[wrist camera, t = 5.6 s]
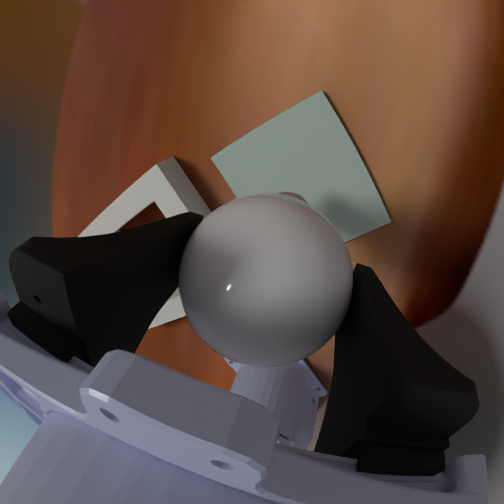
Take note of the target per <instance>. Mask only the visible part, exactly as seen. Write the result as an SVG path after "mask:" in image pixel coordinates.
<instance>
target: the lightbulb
mask: <svg viewBox="0 0 504 504" xmlns="http://www.w3.org/2000/svg"><path fill="white" fill-rule="evenodd" d="M352 291H353V269H352V263H351V258H350V255H349V252H348V249H347V247H346V244H345V242H344V240H343V238H342V236H341V235H340V233H339V232H338V230H337V229H336V227H335V226H334V225H333V224H332V223H331V221H330V220H329V219H328V218H327V217H326V216H325V215H323V214H322V213H321V212H320V211H318V210H317V209H316V208H314V207H313V206H311V205H309V204H308V202H307V201H306V200H305V199H304V198H303V197H302V196H301V195H299V194H297V193H294V192H288V191H286V192H280V193H277V194H275V193H258V194H251V195H246V196H242V197H239V198H236V199H233V200H231V201H229V202H227V203H225V204H223V205H221V206H220V207H218V208H217V209H215V210H214V211H212V212H211V213H210V214H209V215H208V216H207V217H206V218H204V219H203V220H202V222H201V223H200V224H199V225H198V226H197V228H196V229H195V230H194V232H193V233H192V235H191V236H190V238H189V240H188V242H187V244H186V246H185V249H184V251H183V254H182V258H181V262H180V267H179V293H180V299H181V303H182V307H183V310H184V312H185V315H186V317H187V319H188V321H189V323H190V325H191V326H192V328H193V329H194V331H195V332H196V333H197V335H198V336H199V337H200V338H201V339H202V341H203V342H204V343H205V344H207V345H208V346H209V347H210V348H211V349H212V350H214V351H215V352H217V353H218V354H220V355H221V356H223V357H225V358H227V359H229V360H231V361H234V362H236V363H239V364H243V365H247V366H252V367H262V368H270V367H280V366H285V365H289V364H292V363H295V362H298V361H300V360H303V359H305V358H307V357H308V356H310V355H312V354H313V353H315V352H316V351H318V350H319V349H320V348H322V347H323V346H324V345H325V344H326V343H327V342H328V341H329V340H330V339H331V338H332V337H333V336H334V334H335V333H336V332H337V330H338V329H339V327H340V326H341V324H342V322H343V320H344V318H345V316H346V314H347V311H348V309H349V305H350V302H351V297H352Z"/></svg>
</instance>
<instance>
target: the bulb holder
mask: <svg viewBox="0 0 504 504" xmlns="http://www.w3.org/2000/svg"><path fill="white" fill-rule="evenodd" d="M153 202H155V203H156V204H157V206H158V207H159V209H160V210H161V212H162V213H163V214H164V216H165V217H166V218H169V217H172V216H175V215H178V214H181V213H185V212H193V213H197V214H200V215H203V219H204V218H206V217H207V216H208V215H209V214H210V213H211V211H210V209H209V208H208V206H207V205H206V203H205V202H204V200H203V199H202V197H201V196H200V195H199V193H198V192H197V190H196V189H195V187H194V186H193V184H192V183H191V181H190V180H189V178H188V177H187V175H186V174H185V172H184V171H183V169H182V168H181V166H180V165H179V164H178V162H177V161H176V159H175V158H174V156H173V157H171V158H168V159H166V160H164V161H162V162H160V163H158V164H156V165H155V166H154V167H152V168H151V169H150V170H149V171H148V172H146V173H145V174H144V175H143V176H142V177H141V178H139V179H138V180H137V181H136V182H135V183H134V184H133V185H131V186H130V187H129V188H128V189H127V190H126V191H125V192H124V193H122V194H121V195H120V196H119V197H118V198H117V199H116V200H115V201H114V202H113V203H112V204H111V205H109V206H108V207H107V208H106V209H105V210H104V211H103V212H102V213H101V214H100V215H99V216H98V217H97V218H96V219H95V220H94V221H93V222H92V223H91V224H90V225H89V226H88V227H87V228H86V229H85V230H84V231H83V232H82V233H81V234H80V235H79V236H78V237H86V236H94V235H102V234H109V233H114V232H119V231H120V230H119V229H120V228H121V227H123V226H124V225H125V224H126V223H128V222H129V221H130V220H131V219H133V218H134V217H135V216H136V215H138V214H139V213H140V212H141V211H143V210H144V209H145V208H147V207H148V206H149V205H151V204H152V203H153ZM184 316H186V315H185V312H184V310H183V307H182V303H181V299H180V293H179V287H178V288H177V289H176V291H175V292H174V293H173V294H172V296H171V297H170V298H169V299H168V301H167V302H166V303H165V304H164V306H163V307H162V308H161V309H160V311H159V312H158V314H157V315H156V317H155V318H154V320H153V321H152V323H151V325H150V326H149V328H152V327H155V326H158V325H161V324H164V323H167V322H169V321H172V320H175V319H178V318H181V317H184ZM149 328H148V329H149Z"/></svg>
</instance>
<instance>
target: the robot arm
mask: <svg viewBox="0 0 504 504" xmlns="http://www.w3.org/2000/svg"><path fill="white" fill-rule="evenodd" d="M202 220H203V215H200V214H197V213H193V212H185V213H181V214H178V215H175V216H172V217H169V218H165V219H162V220H159V221H156V222H153V223H150V224H146V225H143V226H139V227H136V228H132V229H128V230H124V231H119V232H114V233H109V234H102V235H94V236H86V237H69V238H53V237H32V238H30V239H29V240H27V241H26V242H25V243H23V244H22V245H20V246H19V247H17V248H16V249H15V250H13V251H12V252H11V254H10V258H9V268H10V272H11V276H12V279H13V282H14V285H15V288H16V291H17V293H18V296H19V299H20V302H19V303H17V304H16V305H15V306H14V307H13V308H12V309H11V307H10V304H9V302H8V300H7V298H6V297H5V295H3V293H2V292H0V389H1V390H2V391H3V392H4V393H5V394H6V395H7V396H8V397H9V398H10V399H11V400H12V401H13V402H14V403H15V404H16V405H17V406H18V407H19V408H20V409H21V410H23V411H24V412H25V413H26V414H27V415H28V416H29V417H30V418H31V419H33V420H34V421H35V422H36V423H37V424H38V425H40V427H39V428H38V429H37V431H36V432H35V434H34V435H33V437H32V438H31V439H30V441H29V442H28V444H27V445H26V447H25V448H24V450H23V451H22V453H21V454H20V456H19V457H18V458H17V460H16V462H15V463H14V465H13V466H12V468H11V469H10V471H9V472H8V474H7V475H6V477H5V478H4V480H3V481H2V483H1V485H0V504H488V483H487V470H486V459H485V455H483V454H482V455H463V456H459V457H457V458H455V459H453V460H451V461H450V462H449V463H447V464H446V465H445V454H444V449H447V448H448V447H449V445H450V444H449V437H450V436H451V435H453V434H454V433H455V432H457V431H458V430H459V429H461V428H462V427H463V426H464V425H466V424H467V423H468V422H469V421H470V420H471V419H472V418H473V417H474V415H475V414H476V412H477V411H478V408H479V400H478V395H477V391H476V387H475V383H474V382H473V381H471V380H470V379H469V378H467V377H466V376H465V375H463V374H462V373H460V372H459V371H458V370H456V369H455V368H454V367H452V366H451V365H450V364H449V363H448V362H446V361H445V360H444V359H443V358H442V357H441V356H440V355H439V354H437V353H436V352H435V351H434V350H433V349H432V348H431V347H430V346H429V345H428V344H427V343H426V342H425V341H424V340H423V339H422V338H421V337H420V335H419V334H418V333H417V332H416V331H415V329H414V328H413V327H412V326H411V325H410V324H409V322H408V321H407V320H406V318H405V317H404V316H403V314H402V313H401V312H400V310H399V309H398V307H397V306H396V305H395V303H394V302H393V300H392V299H391V297H390V296H389V294H388V292H387V291H386V289H385V288H384V286H383V285H382V283H381V281H380V280H379V278H378V277H377V275H376V274H375V272H374V271H373V269H372V268H370V267H367V266H364V265H361V264H358V263H357V264H356V267H355V269H354V271H353V291H352V297H351V302H350V305H349V309H348V311H347V314H346V316H345V318H344V320H343V322H342V324H341V326H340V327H339V329H338V330H337V332H336V333H335V349H334V368H333V377H332V383H331V388H330V393H329V398H328V402H327V406H326V411H325V415H324V419H323V423H322V427H321V430H320V433H319V437H318V440H317V443H316V446H315V450H314V452H313V451H308V450H306V449H307V447H308V446H309V444H310V442H311V440H312V437H313V431H314V426H315V420H316V414H317V408H318V402H319V397H321V396H325V395H327V390H326V389H325V387H324V386H323V385H322V383H321V382H320V381H319V379H318V378H317V377H316V375H315V374H314V373H313V371H312V370H311V369H310V367H309V366H308V365H307V363H306V362H305V360H304V359H303V360H300V361H298V362H295V363H292V364H289V365H285V366H280V367H270V368H262V367H252V366H247V365H243V364H239V363H236V362H234V361H231V360H229V359H227V358H224V359H225V360H226V362H227V363H228V364H229V365H230V366H231V367H232V368H233V369H234V370H235V371H236V372H237V374H236V377H235V380H234V382H233V385H232V387H231V390H230V392H229V391H227V390H224V389H221V388H218V387H215V386H213V385H210V384H207V383H205V382H202V381H200V380H197V379H194V378H192V377H189V376H187V375H184V374H182V373H180V372H177V371H175V370H172V369H170V368H168V367H165V366H163V365H161V364H158V363H156V362H154V361H152V360H150V359H147V358H145V357H143V356H141V355H138V354H135V351H136V349H137V348H138V346H139V344H140V342H141V340H142V338H143V337H144V335H145V333H146V331H147V330H148V328H149V326H150V325H151V323H152V321H153V320H154V318H155V317H156V315H157V314H158V312H159V311H160V309H161V308H162V307H163V306H164V304H165V303H166V302H167V301H168V299H169V298H170V297H171V296H172V294H173V293H174V292H175V291H176V289H177V288H178V287H179V267H180V262H181V258H182V254H183V251H184V249H185V246H186V244H187V242H188V240H189V238H190V236H191V235H192V233H193V232H194V230H195V229H196V228H197V226H198V225H199V224H200V223H201V222H202Z"/></svg>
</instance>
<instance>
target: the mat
mask: <svg viewBox="0 0 504 504" xmlns="http://www.w3.org/2000/svg"><path fill="white" fill-rule="evenodd" d="M211 159H212V161H213V162H214V164H215V165H216V167H217V168H218V170H219V171H220V173H221V174H222V176H223V177H224V179H225V180H226V182H227V183H228V185H229V186H230V188H231V189H232V191H233V192H234V194H235V195H236V197H237V198H239V197H242V196H246V195H251V194H258V193H275V194H277V193H280V192H286V191H288V192H294V193H297V194H299V195H301V196H302V197H303V198H304V199H305V200H306V201H307V202H308V204H309V205H311V206H313V207H314V208H316V209H317V210H318V211H320V212H321V213H322V214H323V215H325V216H326V217H327V218H328V219H329V220H330V221H331V223H332V224H333V225H334V226H335V227H336V229H337V230H338V232H339V233H340V235H341V236H342V238H343V240H344V242H347V241H349V240H352V239H354V238H356V237H359V236H361V235H363V234H366V233H368V232H370V231H372V230H375V229H377V228H379V227H382V226H384V225H386V224H388V223H391V220H390V218H389V215H388V213H387V211H386V209H385V206H384V204H383V202H382V200H381V198H380V196H379V193H378V191H377V189H376V187H375V185H374V183H373V181H372V179H371V177H370V175H369V173H368V171H367V169H366V167H365V165H364V163H363V161H362V159H361V157H360V155H359V153H358V152H357V150H356V148H355V146H354V144H353V142H352V141H351V139H350V137H349V135H348V133H347V132H346V130H345V128H344V126H343V125H342V123H341V121H340V119H339V118H338V116H337V114H336V113H335V111H334V109H333V108H332V106H331V104H330V103H329V101H328V100H327V98H326V96H325V95H324V93H323V92H322V91H320V92H318V93H316V94H314V95H313V96H311V97H309V98H307V99H305V100H303V101H302V102H300V103H298V104H296V105H295V106H293V107H291V108H289V109H288V110H286V111H284V112H282V113H281V114H279V115H277V116H276V117H274V118H272V119H271V120H269V121H267V122H266V123H264V124H262V125H261V126H259V127H257V128H256V129H254V130H253V131H251V132H249V133H248V134H246V135H245V136H243V137H241V138H240V139H238V140H237V141H235V142H234V143H232V144H231V145H229V146H228V147H226V148H225V149H223V150H221V151H220V152H218V153H217V154H216V155H214V156H213V157H211Z"/></svg>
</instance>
